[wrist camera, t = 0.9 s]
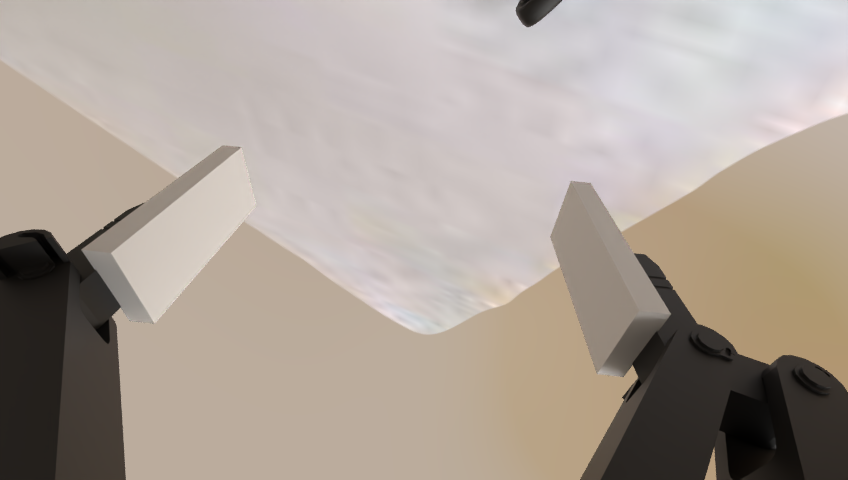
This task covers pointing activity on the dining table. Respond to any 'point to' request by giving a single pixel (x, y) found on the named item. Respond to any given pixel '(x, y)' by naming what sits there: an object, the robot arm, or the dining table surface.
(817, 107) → the dining table surface
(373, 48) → the dining table surface
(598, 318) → the robot arm
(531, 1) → the mug
